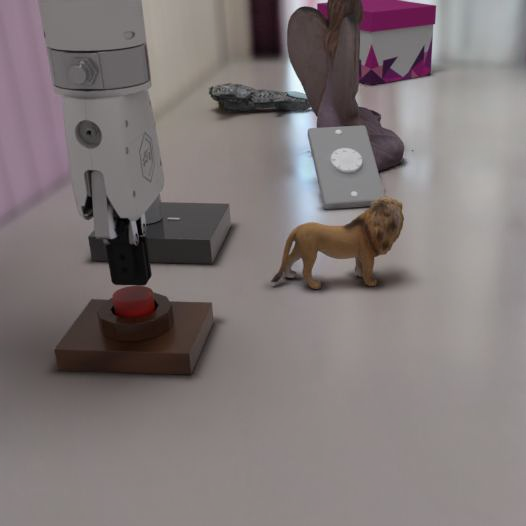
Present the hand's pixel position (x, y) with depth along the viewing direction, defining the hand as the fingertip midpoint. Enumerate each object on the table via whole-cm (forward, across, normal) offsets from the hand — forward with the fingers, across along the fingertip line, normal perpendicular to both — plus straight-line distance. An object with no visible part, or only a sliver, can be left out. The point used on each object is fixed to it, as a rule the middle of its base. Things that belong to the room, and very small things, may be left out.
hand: (132, 281), depth 72 cm
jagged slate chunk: (+7, +92, +2) cm, 92 cm away
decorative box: (+7, +130, -19) cm, 132 cm away
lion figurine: (+7, +16, -18) cm, 25 cm away
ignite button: (+3, 0, 0) cm, 3 cm away
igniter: (+7, 0, 0) cm, 7 cm away
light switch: (+7, +45, -17) cm, 48 cm away
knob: (+4, +25, +6) cm, 26 cm away
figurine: (+7, +61, -17) cm, 64 cm away
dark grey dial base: (+7, +25, +4) cm, 26 cm away
